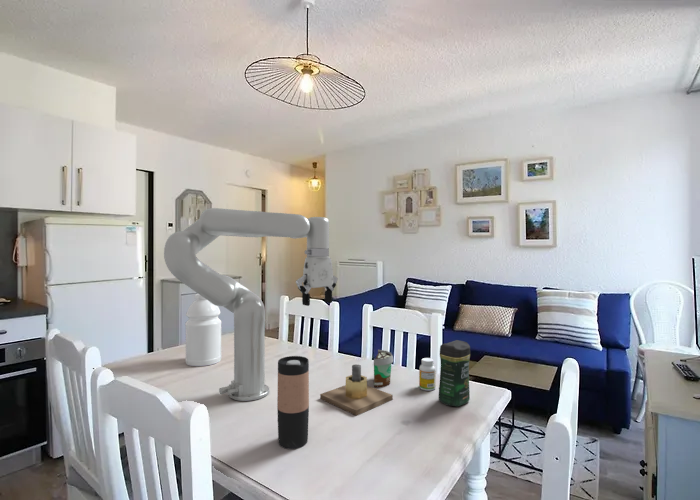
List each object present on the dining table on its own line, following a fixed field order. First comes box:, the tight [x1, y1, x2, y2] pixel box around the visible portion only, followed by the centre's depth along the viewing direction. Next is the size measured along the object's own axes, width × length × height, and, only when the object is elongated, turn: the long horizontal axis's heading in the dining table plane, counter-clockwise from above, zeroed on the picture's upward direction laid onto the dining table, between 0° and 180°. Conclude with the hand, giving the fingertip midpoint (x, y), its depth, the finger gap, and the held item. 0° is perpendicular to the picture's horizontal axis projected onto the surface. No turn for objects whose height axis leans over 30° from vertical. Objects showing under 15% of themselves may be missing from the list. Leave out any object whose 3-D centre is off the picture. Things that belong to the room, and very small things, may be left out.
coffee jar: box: [438, 339, 471, 407], centre depth 116 cm, size 10×8×19 cm
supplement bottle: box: [418, 357, 437, 392], centre depth 127 cm, size 5×5×10 cm
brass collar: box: [345, 374, 368, 399], centre depth 117 cm, size 7×7×5 cm
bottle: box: [184, 292, 223, 367], centre depth 154 cm, size 14×14×28 cm
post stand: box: [319, 364, 394, 417], centre depth 117 cm, size 16×16×10 cm
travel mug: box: [276, 355, 310, 450], centre depth 92 cm, size 8×8×20 cm
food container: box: [373, 349, 394, 388], centre depth 131 cm, size 12×6×10 cm, turn 168°
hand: (317, 303), depth 127 cm, fingers open, 9 cm apart
